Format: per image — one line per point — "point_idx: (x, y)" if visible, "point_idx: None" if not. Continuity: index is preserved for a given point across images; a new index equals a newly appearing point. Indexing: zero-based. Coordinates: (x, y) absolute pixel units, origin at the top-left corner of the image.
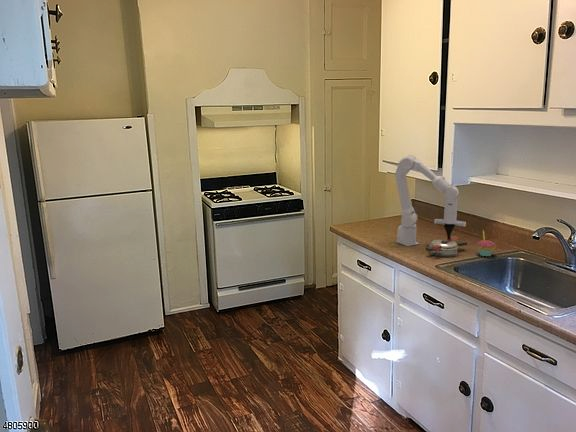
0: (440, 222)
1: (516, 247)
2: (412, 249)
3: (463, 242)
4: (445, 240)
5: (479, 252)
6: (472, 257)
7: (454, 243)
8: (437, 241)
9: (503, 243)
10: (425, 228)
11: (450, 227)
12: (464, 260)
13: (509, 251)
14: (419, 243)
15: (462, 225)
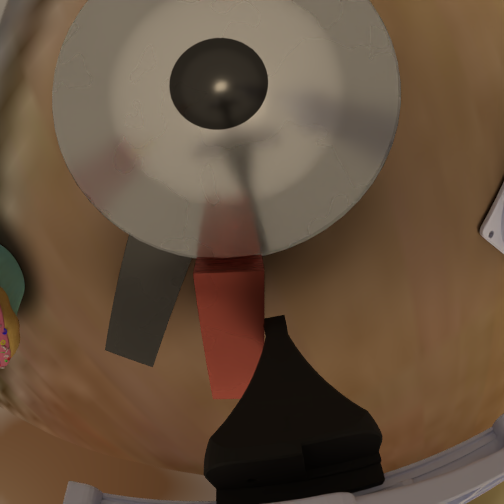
0: (451, 466)
1: (41, 428)
2: (482, 73)
3: (123, 334)
4: (264, 221)
5: (1, 259)
6: (7, 168)
7: (96, 163)
8: (339, 104)
9: (101, 453)
10: (445, 438)
11: (244, 444)
12: (14, 57)
13: (9, 381)
14: (482, 230)
15: (107, 501)
